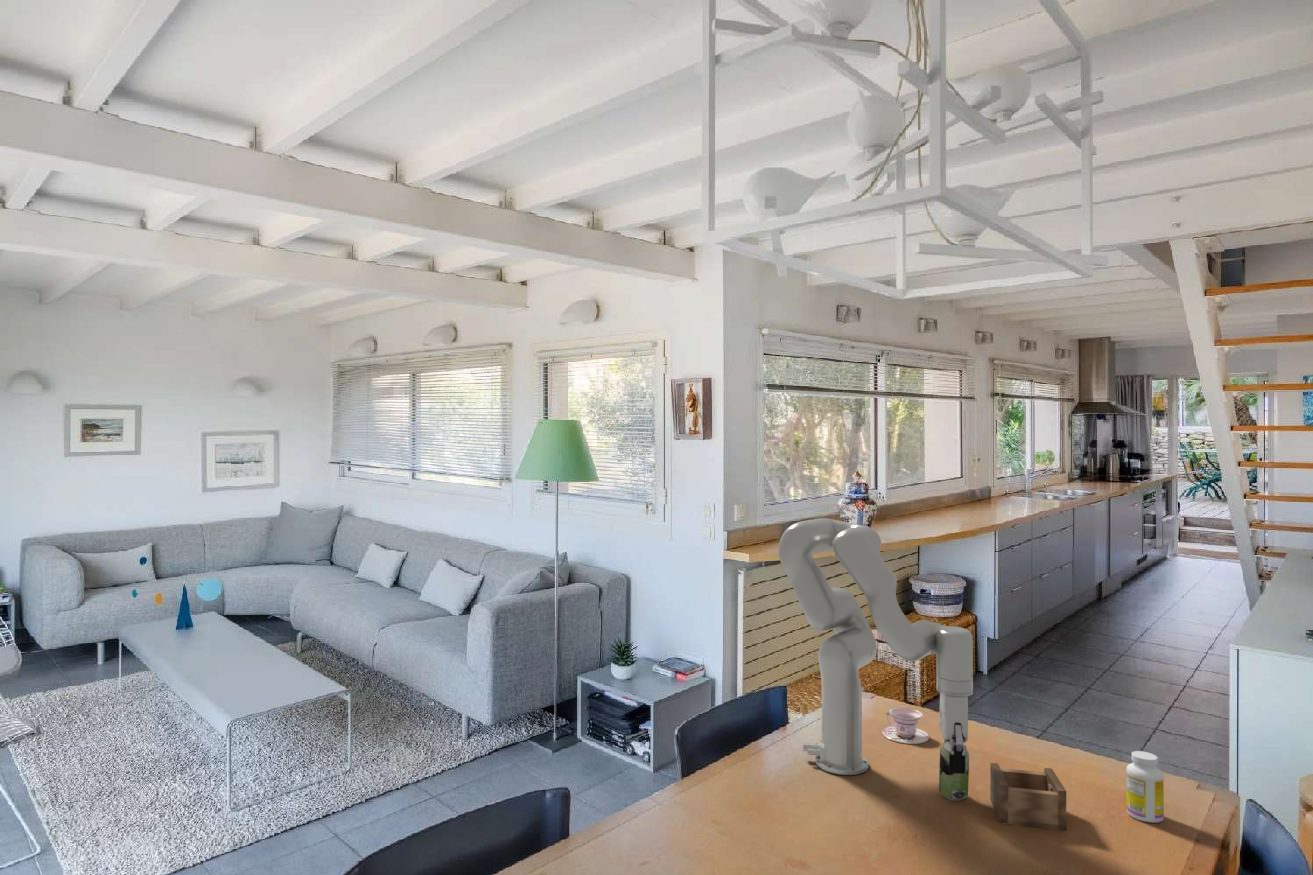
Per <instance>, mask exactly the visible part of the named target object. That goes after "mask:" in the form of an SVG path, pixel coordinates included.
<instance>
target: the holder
mask: <svg viewBox="0 0 1313 875" xmlns="http://www.w3.org/2000/svg"><path fill="white" fill-rule="evenodd" d="M989 770H990V773H989V774H990V776H989V777H990V780H989V781H990V783H989V784H990V786H989V787H990V788H989V789H990V790H989V796H990V798H989V799H990V800H989V801H990V802H991V805H992V807H993V810H994V812H995V813H996V816H997V819H998V822H999V823H1000V824H1002V823H1003V824H1004V823H1005V824H1004V825H1011V824H1012V825H1013V826H1020V825H1022V826H1021V827H1023V826H1024V827H1031V828H1040V829H1047V830H1048V829H1049V830H1057V831H1065V832H1066V831H1067V790H1066V787H1064V785H1063V784H1062V782H1061V780H1060V779H1059V777H1058V776H1057V774H1056V773H1055V771H1054V769H1053V768H1051V767H1050V768H1049V767H1044V769H1043V770H1044V771H1034V770H1021V769H1015V768H1014V769H1013V768H1012V769H1011V768H1001V767H1000V765H999V764H998V763H997V762H990V769H989Z"/></svg>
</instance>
